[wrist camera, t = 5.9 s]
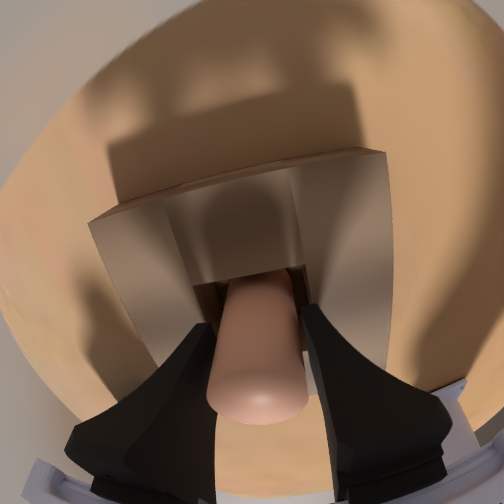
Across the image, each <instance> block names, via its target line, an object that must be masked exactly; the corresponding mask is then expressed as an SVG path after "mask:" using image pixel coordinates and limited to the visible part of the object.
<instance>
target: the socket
mask: <svg viewBox="0 0 504 504" xmlns="http://www.w3.org/2000/svg"><path fill="white" fill-rule="evenodd" d="M87 224H88V226H89V229H90V232H91V234H92V237H93V239H94V242H95V244H96V247H97V249H98V252H99V254H100V256H101V259H102V261H103V263H104V266H105V268H106V270H107V272H108V275H109V277H110V279H111V281H112V283H113V285H114V288H115V290H116V292H117V294H118V296H119V298H120V300H121V302H122V304H123V306H124V308H125V310H126V312H127V314H128V316H129V317H130V319H131V321H132V323H133V325H134V327H135V329H136V330H137V332H138V334H139V336H140V338H141V339H142V341H143V343H144V344H145V346H146V348H147V350H148V351H149V353H150V355H151V356H152V358H153V360H154V361H155V363H156V364H157V366H158V368H159V367H160V366H161V365H162V364H163V363H164V362H165V361H166V359H167V358H168V357H169V356H170V355H171V354H172V353H173V351H174V350H175V349H176V348H177V347H178V345H179V344H180V343H181V342H182V340H183V339H184V338H185V337H186V335H187V334H188V333H189V332H190V330H191V329H192V328H193V327H194V326H195V325H196V323H204V322H210V323H211V325H212V328H213V330H214V333H215V335H216V337H217V338H218V333H219V329H220V324H221V319H222V314H223V310H224V309H223V306H222V303H221V301H220V298H219V295H218V292H217V289H216V286H215V283H214V282H216V281H221V280H227V279H232V278H237V277H243V276H248V275H253V274H258V273H263V272H269V271H274V270H279V269H284V268H289V267H294V266H299V265H302V269H303V275H304V281H305V287H306V294H307V300H308V305H309V304H314V303H316V304H317V305H319V307H320V309H321V310H322V312H323V313H324V315H325V316H326V317H327V319H328V320H329V321H330V322H331V324H332V325H333V326H334V327H335V328H336V329H337V330H338V332H339V333H340V334H341V335H342V336H343V337H344V338H345V339H346V340H347V341H348V342H349V343H350V344H351V345H352V346H353V347H354V348H355V349H357V350H358V351H359V352H360V353H361V354H362V355H364V356H365V357H366V358H367V359H369V360H370V361H371V362H373V363H374V364H375V365H377V366H378V367H380V368H381V369H383V370H384V371H385V370H386V363H387V356H388V347H389V338H390V327H391V315H392V298H393V223H392V206H391V193H390V183H389V173H388V165H387V157H386V152H382V151H377V150H372V149H366V148H361V147H356V148H349V149H342V150H335V151H329V152H323V153H317V154H311V155H306V156H300V157H295V158H290V159H284V160H279V161H275V162H270V163H265V164H261V165H256V166H252V167H247V168H243V169H239V170H234V171H230V172H226V173H222V174H218V175H214V176H210V177H207V178H203V179H199V180H196V181H192V182H188V183H185V184H181V185H178V186H174V187H171V188H168V189H164V190H161V191H158V192H154V193H151V194H148V195H145V196H142V197H139V198H136V199H133V200H130V201H127V202H124V203H121V204H118V205H116V206H115V207H113V208H111V209H110V210H108V211H106V212H105V213H103V214H102V215H100V216H98V217H97V218H95V219H94V220H92V221H90V222H89V223H87ZM297 318H298V325H299V331H300V338H301V345H302V352H303V359H304V366H305V373H306V380H307V388H308V395H312V394H317V393H318V391H317V388H316V384H315V381H314V377H313V373H312V370H311V366H310V362H309V356H308V350H307V344H306V338H305V332H304V326H303V320H302V314H297Z"/></svg>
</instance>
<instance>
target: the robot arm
mask: <svg viewBox="0 0 504 504" xmlns="http://www.w3.org/2000/svg"><path fill="white" fill-rule="evenodd" d="M300 308H301V314H302V320H303V326H304V332H305V338H306V344H307V350H308V356H309V362H310V366H311V370H312V373H313V377H314V381H315V384H316V388H317V391H318V395H319V399H320V402H321V406H322V410H323V415H324V420H325V427H326V433H327V440H328V447H329V455H330V462H331V470H332V479H333V488H334V497H335V503H331V504H504V428H503V429H502V430H501V431H500V432H499V433H498V434H497V435H496V436H495V437H494V438H493V440H492V441H491V442H489V443H488V444H486V445H484V446H483V447H481V448H480V446H479V444H478V442H477V439H476V437H475V435H474V432H473V430H472V428H471V426H470V424H469V422H468V419H467V417H466V415H465V413H464V411H463V409H462V407H461V405H460V403H459V401H458V399H459V397H460V395H461V393H462V391H463V389H464V387H465V385H466V383H467V380H466V379H465V378H464V379H462V380H460V381H457V382H455V383H453V384H451V385H449V386H446V387H444V388H442V389H439V390H437V391H435V392H432V393H427V392H425V391H422V390H420V389H417V388H415V387H413V386H411V385H409V384H407V383H405V382H403V381H401V380H399V379H398V378H396V377H394V376H393V375H391V374H389V373H388V372H386V371H384V370H383V369H381V368H380V367H378V366H377V365H375V364H374V363H373V362H371V361H370V360H369V359H367V358H366V357H365V356H364V355H362V354H361V353H360V352H359V351H358V350H357V349H355V348H354V347H353V346H352V345H351V344H350V343H349V342H348V341H347V340H346V339H345V338H344V337H343V336H342V335H341V334H340V333H339V332H338V330H337V329H336V328H335V327H334V326H333V325H332V324H331V322H330V321H329V320H328V319H327V317H326V316H325V315H324V313H323V312H322V310H321V309H320V307H319V305H317V304H316V303H314V304H309V305H304V306H300ZM216 343H217V337H216V335H215V333H214V330H213V328H212V325H211V323H210V322H204V323H196V325H195V326H194V327H193V328H192V329H191V330H190V332H189V333H188V334H187V335H186V337H185V338H184V339H183V340H182V342H181V343H180V344H179V345H178V347H177V348H176V349H175V350H174V351H173V353H172V354H171V355H170V356H169V357H168V358H167V359H166V361H165V362H164V363H163V364H162V365H161V366H160V367H159V368H158V369H157V370H156V371H155V372H154V373H153V374H152V375H151V376H150V377H149V378H148V379H147V380H146V381H145V382H144V383H143V384H142V385H141V386H139V387H138V388H137V389H136V390H135V391H133V392H132V393H131V394H129V395H128V396H127V397H125V398H124V399H123V400H121V401H120V402H119V403H117V404H116V405H114V406H112V407H111V408H109V409H108V410H106V411H104V412H102V413H101V414H99V415H97V416H95V417H93V418H91V419H89V420H87V421H85V422H82V423H80V424H78V425H76V426H75V427H74V429H73V431H72V433H71V436H70V438H69V440H68V442H67V444H66V447H65V449H64V451H65V453H66V455H67V456H68V457H69V458H70V459H71V460H72V461H73V462H75V463H76V464H77V465H78V466H80V467H81V468H83V469H84V470H85V471H87V472H88V473H90V474H91V475H93V476H94V480H93V482H92V485H90V484H88V483H85V482H82V481H80V480H77V479H75V478H72V477H70V476H68V475H65V474H64V473H63V472H62V471H61V470H59V469H58V468H56V467H55V466H53V465H51V464H49V463H47V462H45V461H43V460H41V459H39V458H36V460H35V462H34V465H33V467H32V469H31V471H30V474H29V476H28V479H27V481H26V483H25V486H24V489H23V491H22V494H21V496H22V497H23V498H24V499H26V500H27V501H29V502H30V503H31V504H216V491H215V466H214V460H215V428H216V420H217V414H218V413H217V412H216V411H215V410H214V409H213V408H212V407H211V406H210V405H209V403H208V401H207V396H206V394H207V388H208V383H209V378H210V373H211V368H212V363H213V358H214V353H215V348H216Z"/></svg>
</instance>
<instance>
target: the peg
mask: <svg viewBox="0 0 504 504" xmlns="http://www.w3.org/2000/svg"><path fill="white" fill-rule="evenodd" d="M206 396H207V401H208V403H209V405H210V406H211V407H212V408H213V409H214V410H215V411H216V412H217V413H218V414H220V415H222V416H223V417H225V418H227V419H230V420H233V421H236V422H239V423H244V424H253V425H264V424H273V423H278V422H281V421H285V420H287V419H289V418H292V417H293V416H295V415H297V414H298V413H299V412H301V411H302V410H303V408H304V407H305V406H306V404H307V402H308V397H309V396H308V388H307V380H306V373H305V366H304V359H303V352H302V345H301V338H300V331H299V325H298V318H297V312H296V306H295V300H294V294H293V288H292V282H291V278H290V276H289V274H288V272H287V271H286V269H285V268H284V269H279V270H274V271H269V272H263V273H258V274H253V275H248V276H243V277H237V278H232V279H230V281H229V286H228V291H227V295H226V300H225V305H224V310H223V314H222V319H221V324H220V329H219V333H218V338H217V343H216V348H215V353H214V358H213V363H212V368H211V373H210V378H209V383H208V388H207V394H206Z"/></svg>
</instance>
